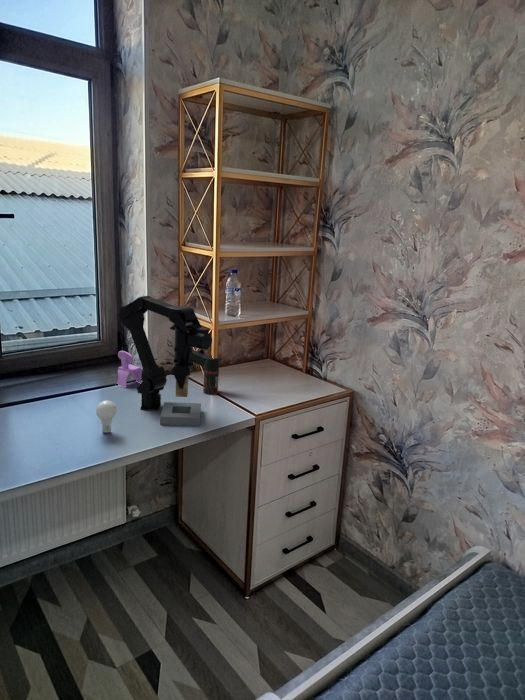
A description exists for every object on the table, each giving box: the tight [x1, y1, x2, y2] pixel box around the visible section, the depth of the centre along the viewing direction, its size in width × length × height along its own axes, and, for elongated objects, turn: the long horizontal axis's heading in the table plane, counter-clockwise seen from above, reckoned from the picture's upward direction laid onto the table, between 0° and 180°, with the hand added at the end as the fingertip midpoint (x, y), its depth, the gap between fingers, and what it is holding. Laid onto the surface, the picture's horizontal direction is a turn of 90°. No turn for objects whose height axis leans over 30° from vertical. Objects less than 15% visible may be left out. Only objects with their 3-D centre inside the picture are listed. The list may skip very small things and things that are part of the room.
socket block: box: [159, 401, 202, 427], centre depth 176 cm, size 13×13×3 cm
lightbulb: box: [95, 399, 118, 434], centre depth 160 cm, size 6×6×11 cm
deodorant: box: [202, 354, 220, 396], centre depth 202 cm, size 6×6×15 cm
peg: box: [175, 376, 189, 398], centre depth 173 cm, size 4×4×9 cm
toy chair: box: [115, 350, 142, 388], centre depth 204 cm, size 8×9×15 cm
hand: (181, 386), depth 174 cm, fingers closed on peg, 4 cm apart
